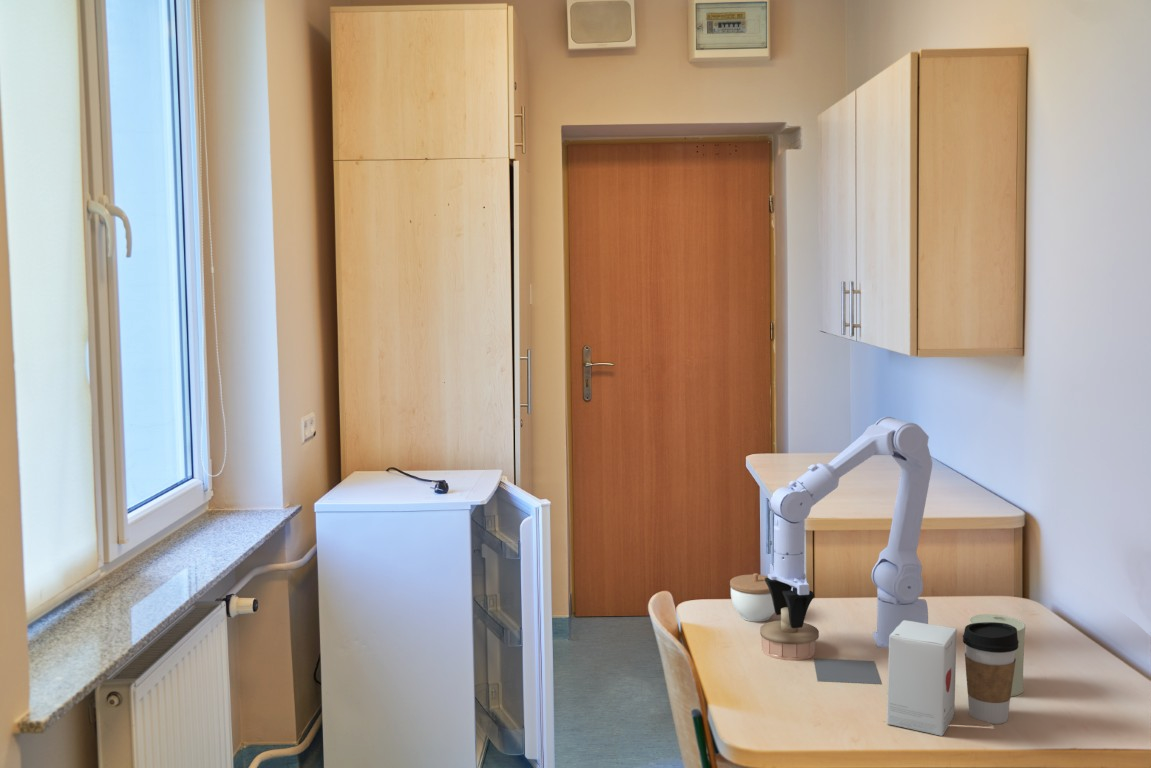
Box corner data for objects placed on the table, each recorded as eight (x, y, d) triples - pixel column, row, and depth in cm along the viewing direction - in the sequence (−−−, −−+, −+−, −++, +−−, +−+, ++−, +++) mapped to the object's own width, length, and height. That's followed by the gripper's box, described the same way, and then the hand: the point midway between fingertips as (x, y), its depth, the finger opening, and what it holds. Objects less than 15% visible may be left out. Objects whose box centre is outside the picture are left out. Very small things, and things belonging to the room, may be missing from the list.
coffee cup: (1021, 729, 164) (1024, 637, 162) (965, 725, 166) (967, 634, 164) (1010, 707, 172) (1013, 620, 170) (956, 704, 174) (959, 617, 172)
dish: (813, 644, 202) (813, 626, 202) (816, 663, 193) (816, 644, 192) (761, 642, 204) (761, 624, 204) (762, 660, 194) (762, 642, 194)
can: (1021, 679, 184) (1023, 614, 182) (1025, 699, 175) (1028, 631, 174) (966, 673, 187) (967, 609, 185) (967, 693, 178) (969, 625, 177)
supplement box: (943, 737, 161) (945, 645, 160) (885, 725, 166) (887, 635, 165) (956, 716, 169) (958, 627, 168) (900, 705, 174) (902, 618, 172)
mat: (874, 662, 192) (874, 660, 192) (881, 686, 182) (881, 684, 182) (813, 660, 194) (813, 658, 194) (817, 683, 183) (817, 680, 183)
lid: (811, 624, 203) (811, 600, 203) (825, 643, 193) (825, 618, 192) (755, 624, 203) (755, 601, 203) (766, 644, 192) (766, 619, 192)
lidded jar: (791, 617, 218) (792, 574, 217) (758, 629, 211) (758, 584, 210) (752, 605, 226) (752, 563, 225) (719, 616, 220) (719, 573, 219)
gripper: (755, 542, 203) (755, 610, 204) (783, 562, 188) (783, 635, 190) (789, 540, 204) (789, 607, 205) (820, 560, 190) (819, 632, 191)
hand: (788, 620), depth 198 cm, fingers open, 7 cm apart
